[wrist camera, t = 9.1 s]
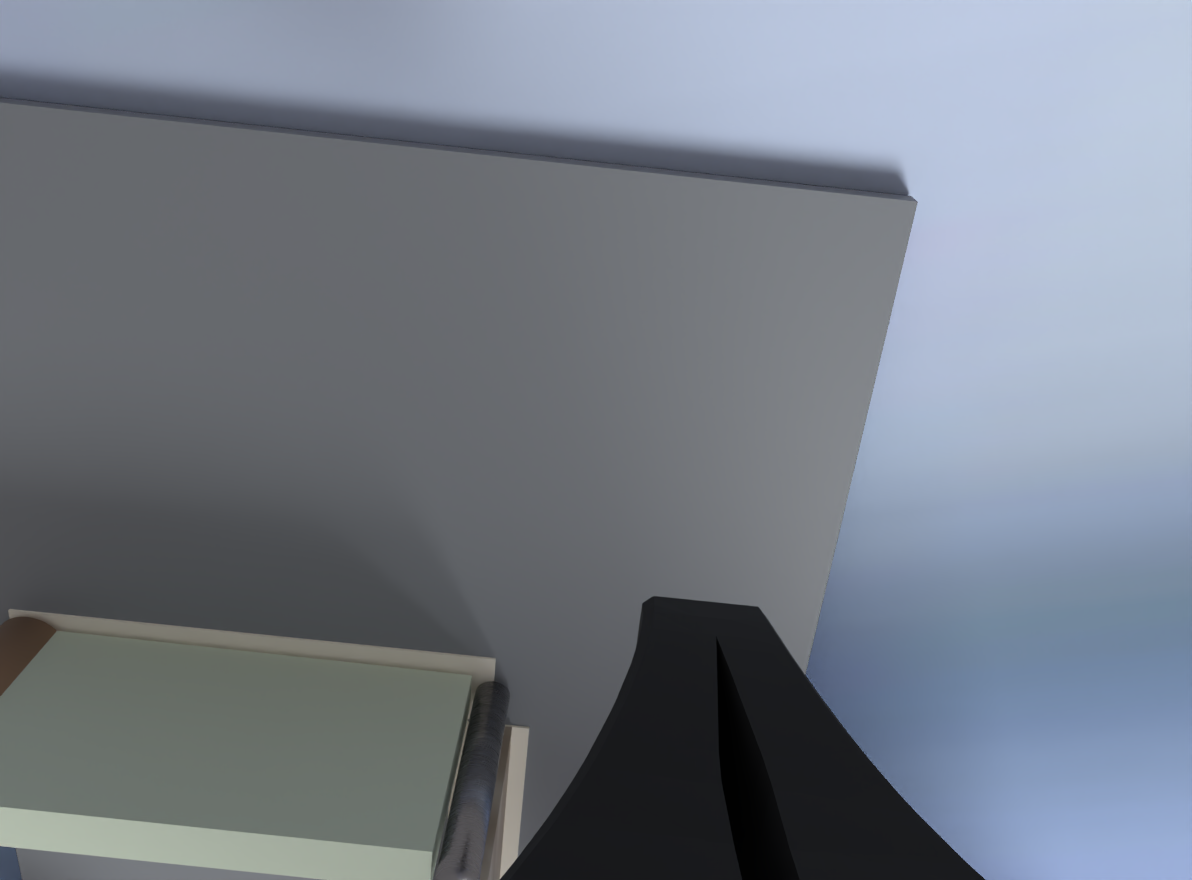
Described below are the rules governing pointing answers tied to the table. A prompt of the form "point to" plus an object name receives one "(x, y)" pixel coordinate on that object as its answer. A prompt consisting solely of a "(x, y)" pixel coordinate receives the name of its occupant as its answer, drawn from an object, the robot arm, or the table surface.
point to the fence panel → (242, 758)
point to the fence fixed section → (497, 815)
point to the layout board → (420, 407)
